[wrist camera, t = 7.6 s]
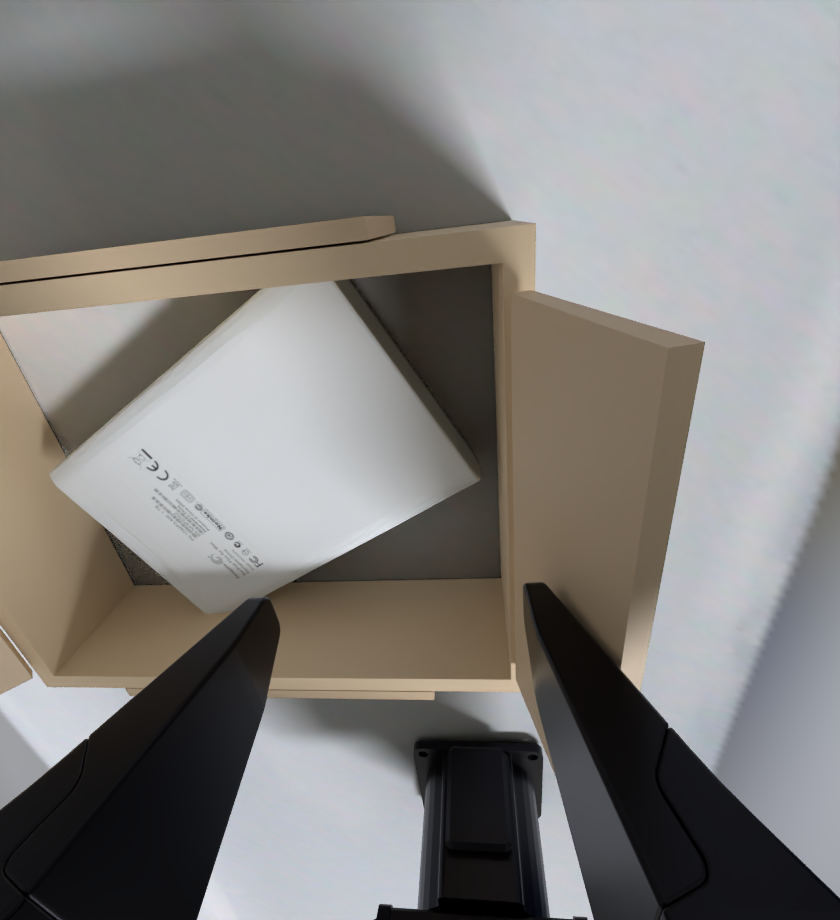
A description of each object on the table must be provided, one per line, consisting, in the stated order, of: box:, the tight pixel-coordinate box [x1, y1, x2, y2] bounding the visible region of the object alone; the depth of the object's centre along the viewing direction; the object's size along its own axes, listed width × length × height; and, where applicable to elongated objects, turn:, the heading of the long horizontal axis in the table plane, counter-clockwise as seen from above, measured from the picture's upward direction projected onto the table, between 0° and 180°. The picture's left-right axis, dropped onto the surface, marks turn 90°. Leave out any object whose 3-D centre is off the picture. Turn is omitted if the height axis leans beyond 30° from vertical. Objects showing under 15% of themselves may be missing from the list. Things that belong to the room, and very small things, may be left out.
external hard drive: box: [49, 279, 481, 614], centre depth 15 cm, size 2×8×12 cm
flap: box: [511, 290, 705, 776], centre depth 9 cm, size 4×11×1 cm
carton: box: [0, 215, 536, 700], centre depth 14 cm, size 14×17×4 cm
